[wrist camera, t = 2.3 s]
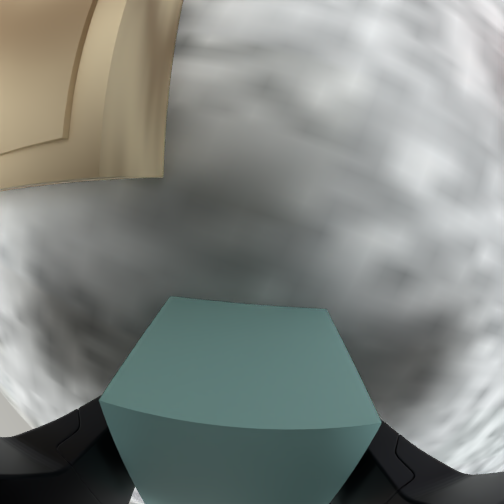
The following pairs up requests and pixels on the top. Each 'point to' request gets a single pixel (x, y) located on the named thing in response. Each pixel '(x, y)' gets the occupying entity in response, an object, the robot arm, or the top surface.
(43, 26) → the bamboo box
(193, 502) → the teal cube
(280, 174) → the top surface
